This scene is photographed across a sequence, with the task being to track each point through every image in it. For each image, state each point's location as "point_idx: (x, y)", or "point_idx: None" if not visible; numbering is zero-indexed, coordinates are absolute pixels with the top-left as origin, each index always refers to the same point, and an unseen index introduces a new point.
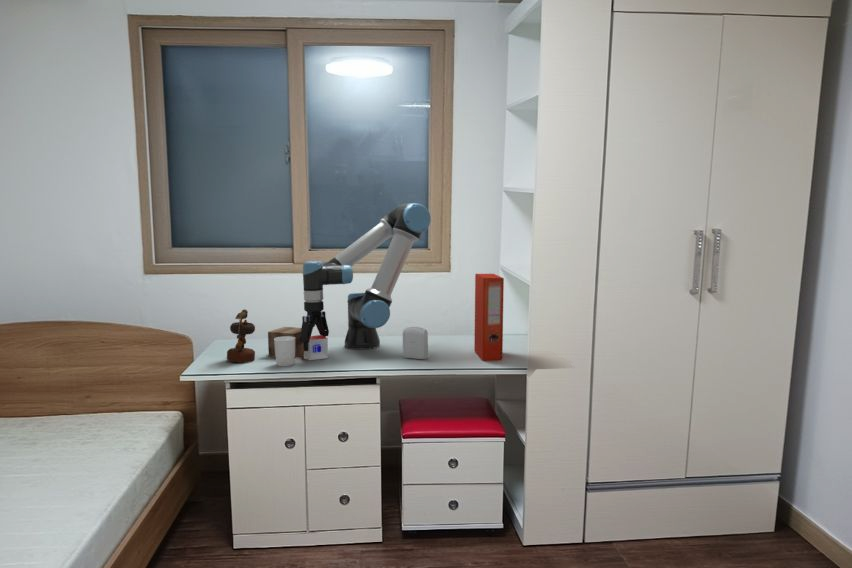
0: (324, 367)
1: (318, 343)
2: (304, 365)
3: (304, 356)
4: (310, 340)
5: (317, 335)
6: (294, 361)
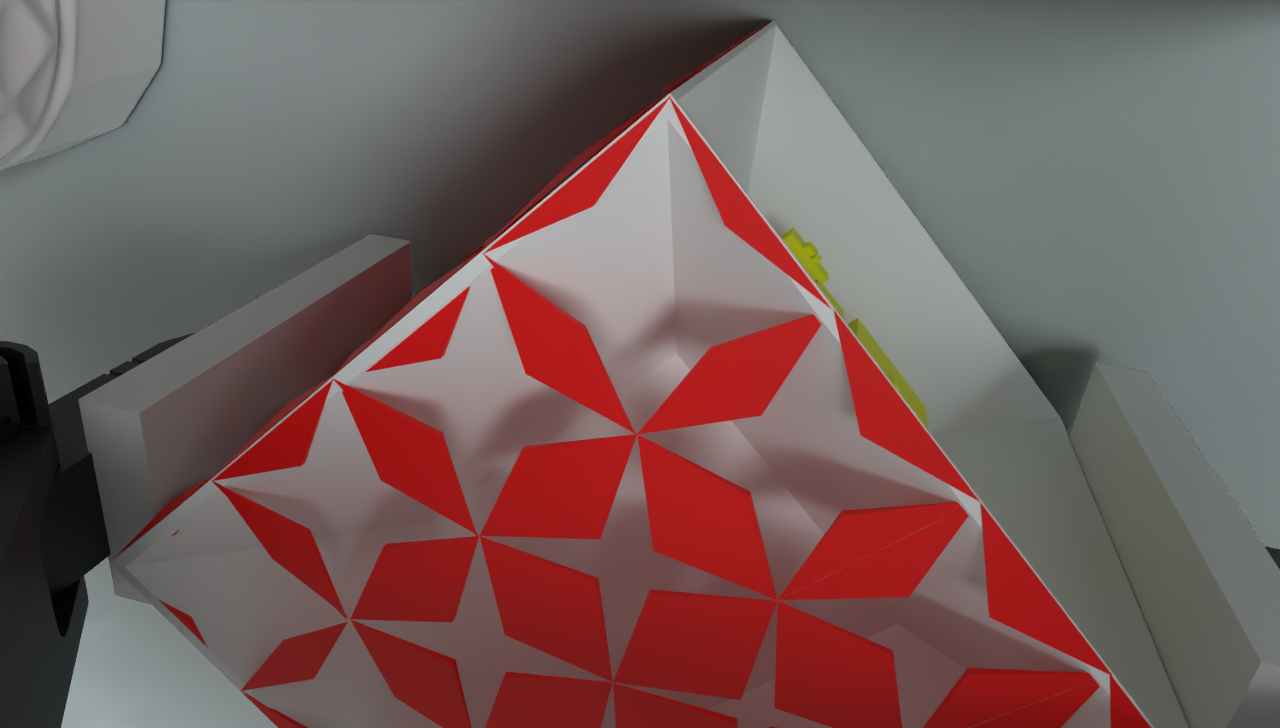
0: (150, 663)
1: (570, 668)
2: (107, 359)
3: (345, 261)
4: (201, 618)
5: (1102, 691)
6: (59, 148)
